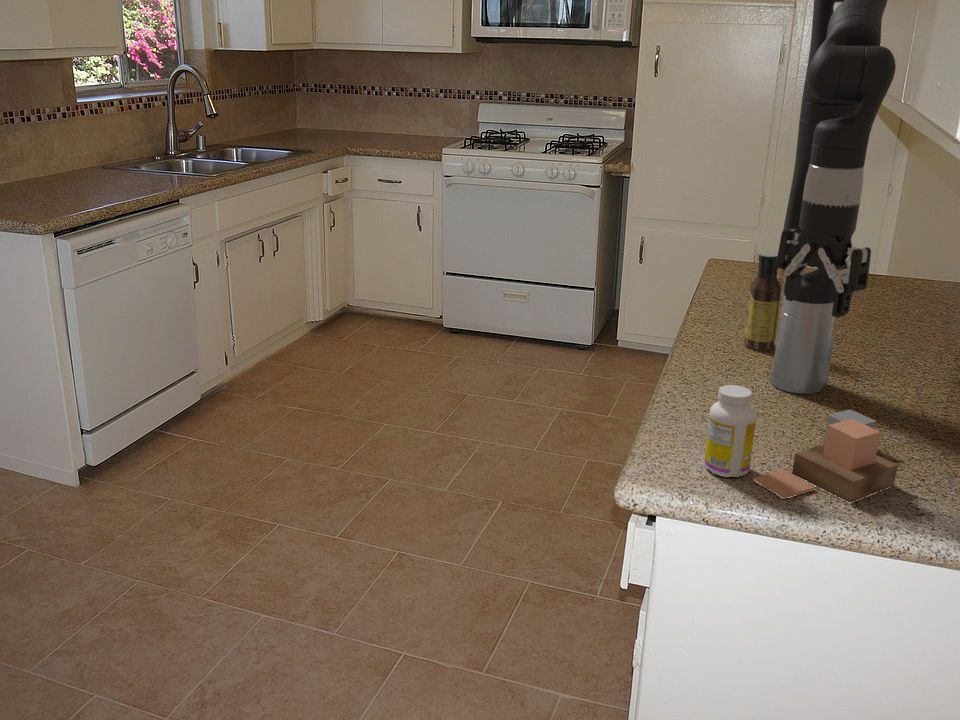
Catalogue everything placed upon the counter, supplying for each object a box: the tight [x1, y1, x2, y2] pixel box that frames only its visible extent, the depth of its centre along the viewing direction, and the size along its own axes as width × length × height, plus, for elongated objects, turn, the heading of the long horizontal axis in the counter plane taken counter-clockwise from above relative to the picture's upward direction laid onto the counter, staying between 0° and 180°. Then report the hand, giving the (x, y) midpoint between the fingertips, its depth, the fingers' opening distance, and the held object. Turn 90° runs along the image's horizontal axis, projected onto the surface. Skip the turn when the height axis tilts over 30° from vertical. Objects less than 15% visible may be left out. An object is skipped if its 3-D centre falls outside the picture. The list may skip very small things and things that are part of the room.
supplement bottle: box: [703, 384, 757, 478], centre depth 129 cm, size 7×7×13 cm
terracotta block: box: [823, 419, 882, 470], centre depth 126 cm, size 5×5×5 cm
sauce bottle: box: [743, 251, 782, 352], centre depth 179 cm, size 6×6×20 cm
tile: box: [753, 469, 816, 498], centre depth 127 cm, size 6×6×1 cm
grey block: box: [823, 409, 877, 443], centre depth 138 cm, size 5×5×5 cm
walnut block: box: [791, 442, 899, 502], centre depth 128 cm, size 10×10×4 cm
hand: (814, 307), depth 128 cm, fingers open, 8 cm apart
